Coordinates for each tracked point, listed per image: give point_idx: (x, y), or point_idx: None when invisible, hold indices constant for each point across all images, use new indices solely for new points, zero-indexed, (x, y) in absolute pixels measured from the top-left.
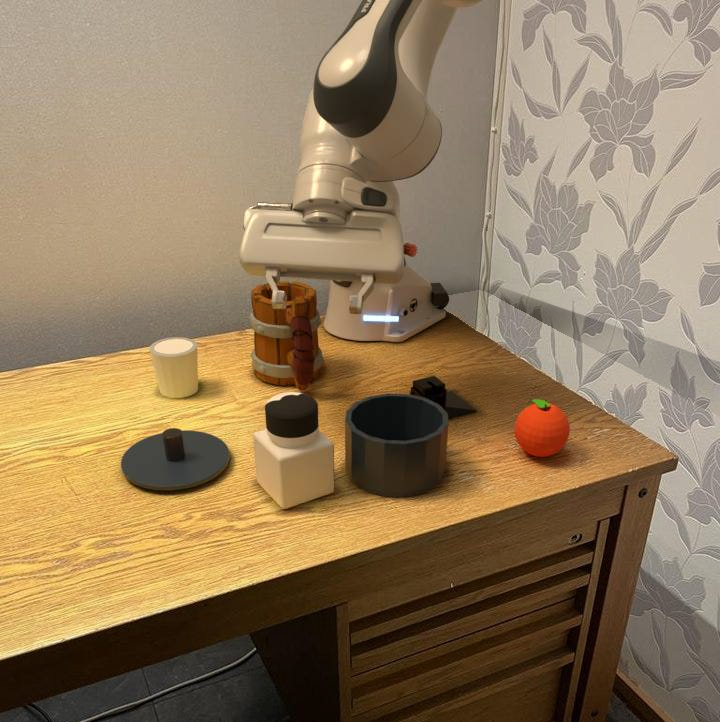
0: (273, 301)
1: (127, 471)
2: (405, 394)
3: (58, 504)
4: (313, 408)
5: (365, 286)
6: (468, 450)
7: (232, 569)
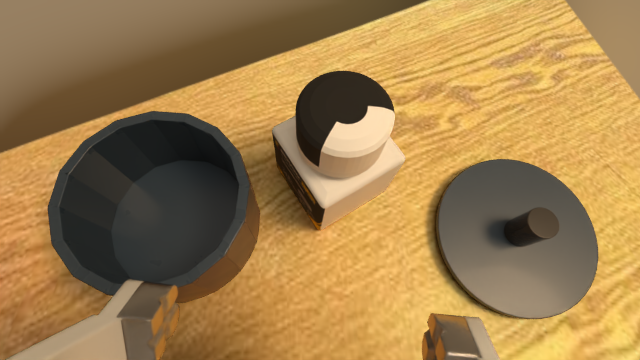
0: (474, 319)
1: (568, 194)
2: (112, 291)
3: (618, 146)
4: (303, 92)
5: (56, 343)
6: (48, 281)
7: (382, 40)
